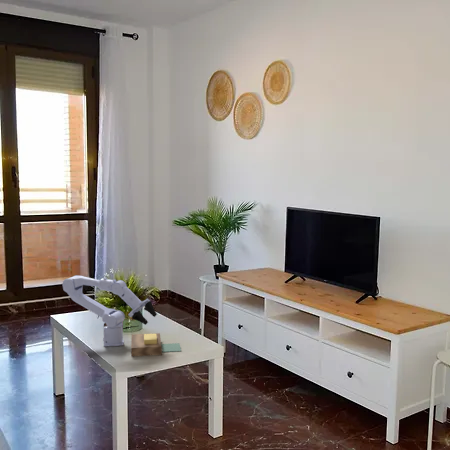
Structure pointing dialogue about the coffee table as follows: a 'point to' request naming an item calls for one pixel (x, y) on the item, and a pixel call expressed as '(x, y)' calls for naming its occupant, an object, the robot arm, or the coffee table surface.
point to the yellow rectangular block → (150, 339)
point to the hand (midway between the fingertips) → (151, 319)
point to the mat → (171, 347)
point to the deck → (145, 346)
